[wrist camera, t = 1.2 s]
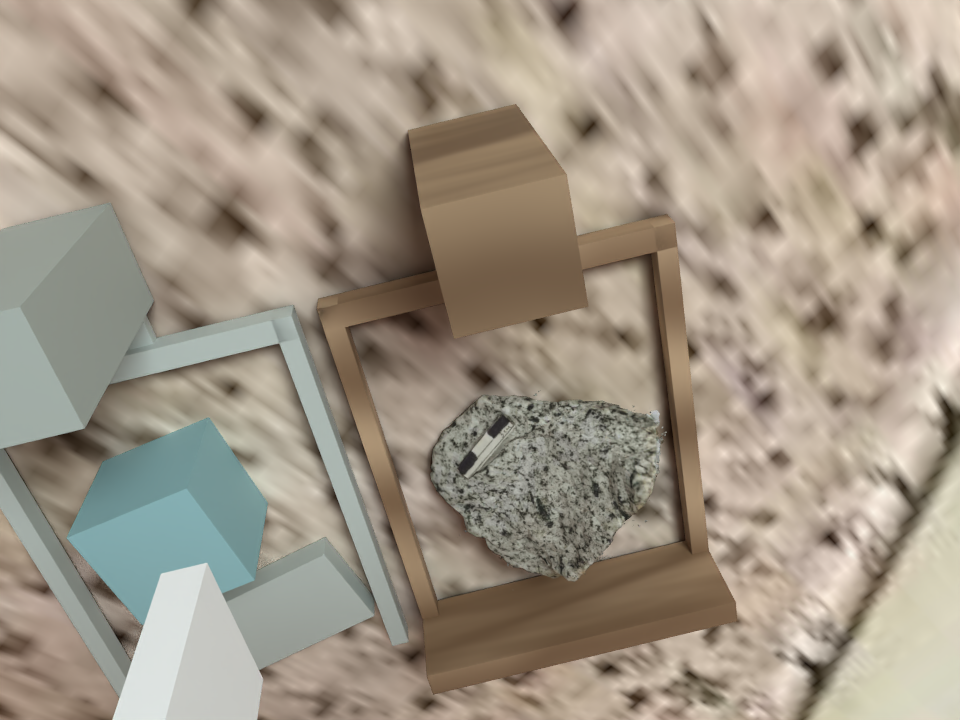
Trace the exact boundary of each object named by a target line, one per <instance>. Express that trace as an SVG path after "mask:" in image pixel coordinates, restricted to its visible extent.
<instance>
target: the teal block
mask: <svg viewBox="0 0 960 720" xmlns="http://www.w3.org/2000/svg"><path fill="white" fill-rule="evenodd" d="M267 505H268V503H267V501H266V500H265V498H264V497H263V495H262V494H261V493H260V491H259V490H258V488H257V487H256V485H255V484H254V482H253V481H252V479H251V478H250V476H249V475H248V474H247V472H246V471H245V469H244V468H243V466H242V465H241V463H240V462H239V460H238V459H237V458H236V456H235V455H234V453H233V452H232V450H231V449H230V447H229V446H228V444H227V443H226V442H225V440H224V439H223V437H222V436H221V434H220V433H219V431H218V430H217V428H216V427H215V425H214V424H213V423H212V421H211V420H210V418H209V417H208V418H206V419H203V420H201V421H199V422H196V423H194V424H192V425H189V426H187V427H184V428H182V429H180V430H177V431H175V432H172V433H170V434H168V435H165V436H163V437H160V438H158V439H156V440H153V441H151V442H148V443H146V444H144V445H141V446H139V447H136V448H134V449H132V450H129V451H127V452H125V453H122V454H120V455H117V456H115V457H113V458H110V459H108V460H105V461H103V462H102V464H101V466H100V469H99V471H98V473H97V475H96V477H95V479H94V481H93V483H92V485H91V487H90V490H89V492H88V494H87V496H86V498H85V500H84V502H83V504H82V506H81V508H80V511H79V513H78V515H77V517H76V519H75V521H74V523H73V525H72V527H71V529H70V532H69V534H68V536H67V539H68V540H69V541H70V543H71V544H72V545H73V546H74V547H75V548H76V550H77V551H78V552H79V553H80V554H81V555H82V556H83V558H84V559H85V560H86V561H87V562H88V563H89V565H90V566H91V567H92V568H93V569H94V570H95V571H96V573H97V574H98V575H99V576H100V577H101V578H102V579H103V581H104V582H105V583H106V584H107V585H108V586H109V588H110V589H111V590H112V591H113V592H114V593H115V594H116V596H117V597H118V598H119V599H120V600H121V601H122V603H123V604H124V605H125V606H126V607H127V608H128V609H129V611H130V612H131V613H132V614H133V615H134V616H135V618H136V619H137V620H138V621H139V622H140V623H141V624H142V625H144V623H145V620H146V617H147V614H148V611H149V608H150V605H151V602H152V599H153V596H154V593H155V590H156V587H157V584H158V581H159V578H160V575H161V574H162V573H166V572H170V571H174V570H179V569H183V568H187V567H191V566H195V565H199V564H204V563H207V564H208V566H209V568H210V570H211V572H212V574H213V576H214V578H215V580H216V582H217V584H218V586H219V588H220V591H221V593H224V592H227V591H229V590H232V589H234V588H237V587H239V586H242V585H244V584H247V583H249V582H252V581H254V580H255V576H256V570H257V564H258V558H259V552H260V546H261V541H262V535H263V529H264V523H265V517H266V511H267Z"/></svg>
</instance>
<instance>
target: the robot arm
mask: <svg viewBox="0 0 960 720" xmlns="http://www.w3.org/2000/svg"><path fill="white" fill-rule="evenodd" d="M262 684H263V678H262V676H261V674H260V671H259V669H258V667H257V665H256V663H255V661H254V659H253V657H252V655H251V653H250V651H249V649H248V647H247V644H246V642H245V640H244V638H243V636H242V634H241V632H240V630H239V628H238V626H237V624H236V622H235V620H234V618H233V615H232V613H231V611H230V609H229V607H228V605H227V603H226V601H225V599H224V597H223V595H222V593H221V591H220V588H219V586H218V584H217V582H216V580H215V578H214V576H213V574H212V572H211V570H210V568H209V566H208V564H207V563H204V564H199V565H195V566H191V567H187V568H183V569H179V570H174V571H170V572H166V573H162V574H161V575H160V578H159V581H158V584H157V587H156V590H155V593H154V596H153V599H152V602H151V605H150V608H149V611H148V614H147V617H146V620H145V623H144V626H143V629H142V632H141V635H140V638H139V641H138V644H137V647H136V650H135V653H134V656H133V659H132V662H131V665H130V668H129V671H128V674H127V678H126V681H125V684H124V687H123V690H122V693H121V696H120V699H119V702H118V705H117V708H116V711H115V714H114V717H113V720H257V717H258V710H259V704H260V697H261V690H262Z"/></svg>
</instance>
